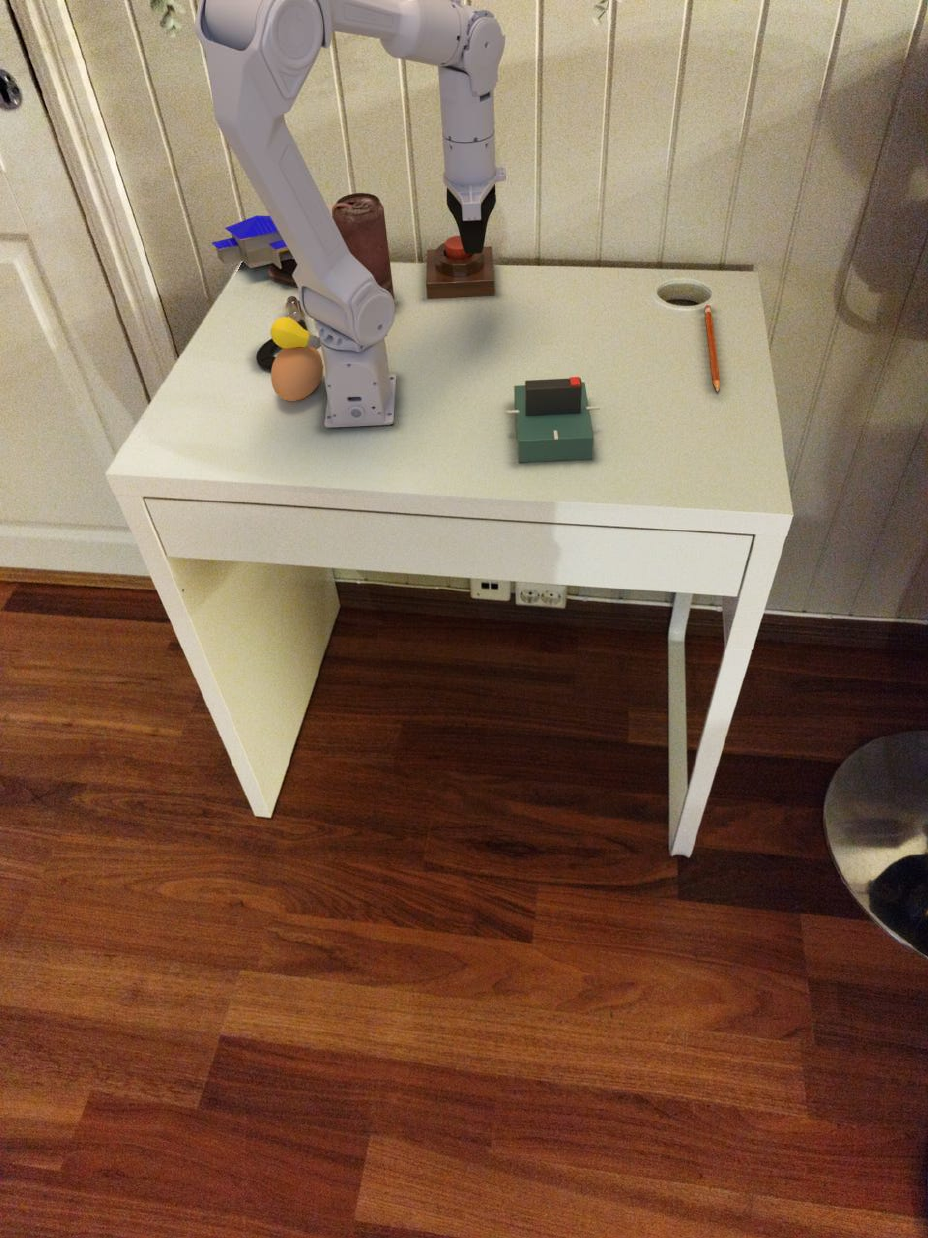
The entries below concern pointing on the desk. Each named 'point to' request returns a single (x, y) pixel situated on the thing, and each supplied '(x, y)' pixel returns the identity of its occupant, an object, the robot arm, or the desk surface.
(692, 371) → the desk surface
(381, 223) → the can
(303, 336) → the light bulb
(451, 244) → the button
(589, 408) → the panel
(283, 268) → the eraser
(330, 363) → the robot arm
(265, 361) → the micrometer
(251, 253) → the house
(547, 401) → the battery with red terminal
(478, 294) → the button block
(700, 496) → the desk surface
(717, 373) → the pencil
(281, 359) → the egg
